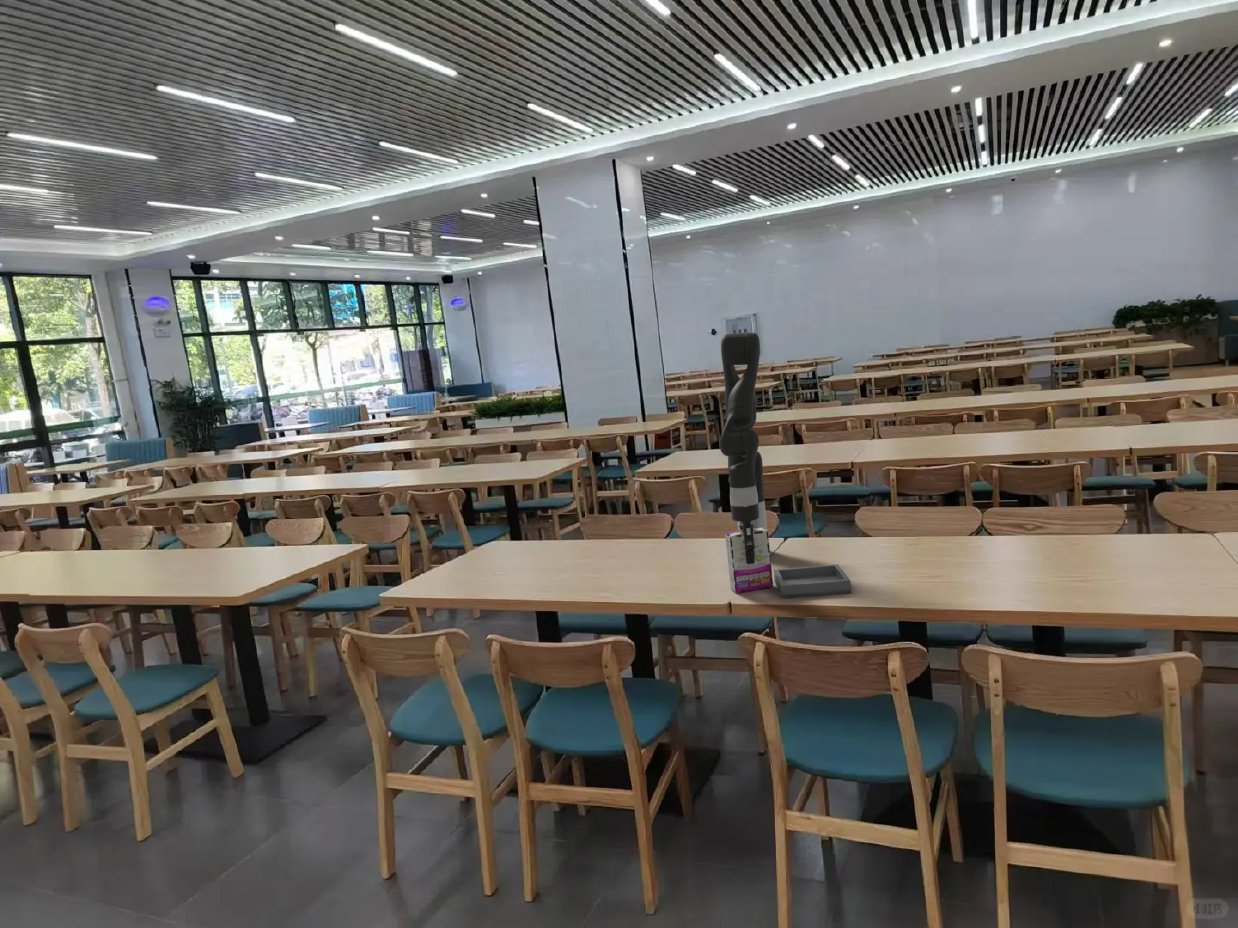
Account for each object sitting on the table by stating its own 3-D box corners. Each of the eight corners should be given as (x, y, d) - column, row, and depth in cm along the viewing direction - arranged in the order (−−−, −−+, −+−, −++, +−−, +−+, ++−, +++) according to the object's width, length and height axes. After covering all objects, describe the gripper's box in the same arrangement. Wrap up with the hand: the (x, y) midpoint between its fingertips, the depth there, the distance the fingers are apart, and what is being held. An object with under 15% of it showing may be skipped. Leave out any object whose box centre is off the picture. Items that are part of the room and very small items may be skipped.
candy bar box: (767, 583, 225) (762, 526, 223) (773, 587, 220) (769, 530, 218) (729, 589, 223) (724, 532, 221) (735, 594, 218) (730, 535, 216)
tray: (774, 581, 226) (773, 569, 226) (839, 576, 225) (838, 564, 224) (781, 598, 210) (780, 585, 210) (851, 593, 209) (850, 580, 208)
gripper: (728, 498, 226) (733, 554, 228) (732, 508, 212) (737, 567, 214) (755, 496, 225) (760, 552, 227) (760, 505, 211) (765, 565, 213)
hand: (749, 559), depth 221 cm, fingers open, 8 cm apart
